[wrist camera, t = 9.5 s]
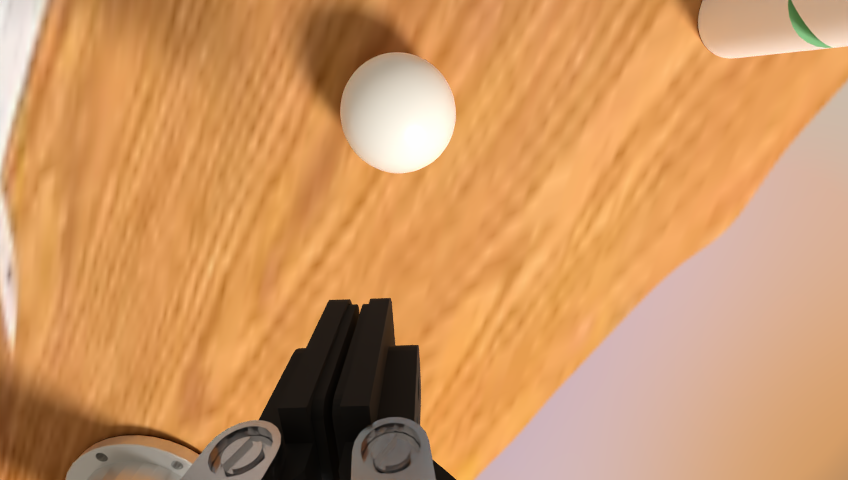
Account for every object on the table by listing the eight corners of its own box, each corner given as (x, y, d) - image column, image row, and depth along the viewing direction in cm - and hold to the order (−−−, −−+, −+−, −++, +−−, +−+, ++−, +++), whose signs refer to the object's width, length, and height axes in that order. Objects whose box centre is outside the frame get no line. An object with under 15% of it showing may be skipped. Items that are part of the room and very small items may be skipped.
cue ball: (406, 40, 15) (405, 14, 19) (304, 130, 17) (325, 88, 21) (486, 147, 17) (470, 103, 22) (391, 214, 19) (393, 161, 24)
